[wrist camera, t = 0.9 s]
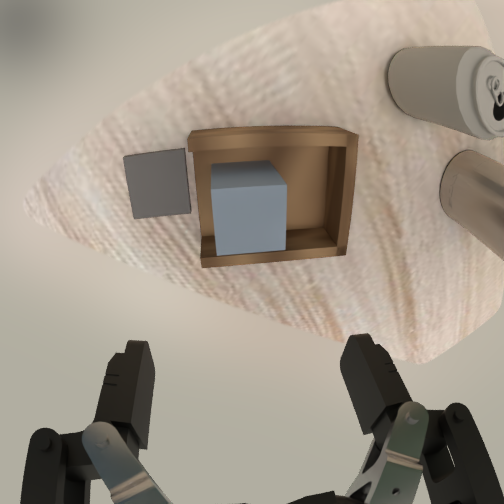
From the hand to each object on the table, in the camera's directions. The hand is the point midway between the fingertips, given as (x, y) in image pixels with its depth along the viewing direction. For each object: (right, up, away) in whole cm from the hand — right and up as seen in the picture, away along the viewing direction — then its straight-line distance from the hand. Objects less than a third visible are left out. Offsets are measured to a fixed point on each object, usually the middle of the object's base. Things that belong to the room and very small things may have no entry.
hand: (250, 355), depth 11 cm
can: (+16, +21, +12) cm, 29 cm away
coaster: (-8, +10, +15) cm, 20 cm away
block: (-1, +10, +15) cm, 18 cm away
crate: (+1, +10, +16) cm, 19 cm away
